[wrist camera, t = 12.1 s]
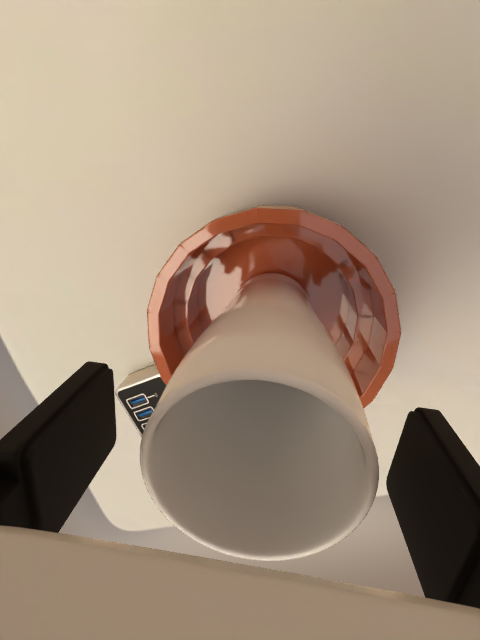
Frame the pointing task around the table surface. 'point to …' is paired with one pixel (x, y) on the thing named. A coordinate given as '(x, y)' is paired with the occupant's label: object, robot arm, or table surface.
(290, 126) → the table surface
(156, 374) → the multiport hub
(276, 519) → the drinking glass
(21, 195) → the table surface
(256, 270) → the bowl
